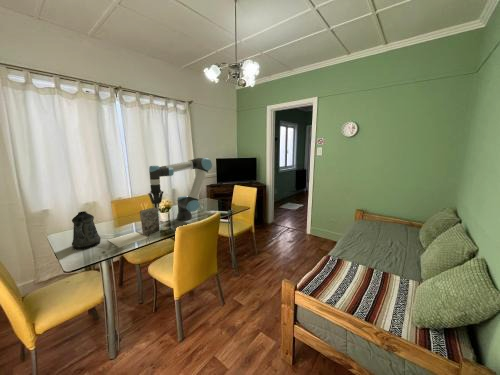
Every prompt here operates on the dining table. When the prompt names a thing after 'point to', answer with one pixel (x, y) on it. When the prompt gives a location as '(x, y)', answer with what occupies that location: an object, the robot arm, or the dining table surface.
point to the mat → (128, 239)
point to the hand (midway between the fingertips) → (157, 211)
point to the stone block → (149, 220)
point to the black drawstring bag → (84, 232)
